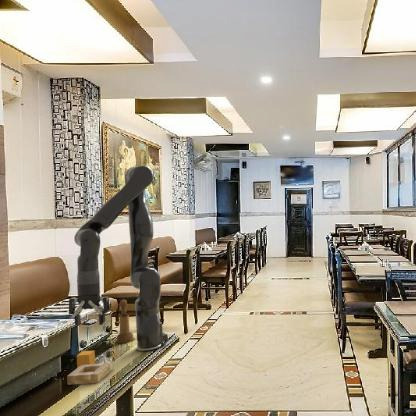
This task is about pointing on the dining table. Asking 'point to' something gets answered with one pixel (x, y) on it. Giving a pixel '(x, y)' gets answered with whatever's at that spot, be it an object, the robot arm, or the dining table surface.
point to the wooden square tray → (88, 373)
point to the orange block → (86, 358)
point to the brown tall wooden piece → (124, 325)
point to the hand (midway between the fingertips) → (89, 324)
